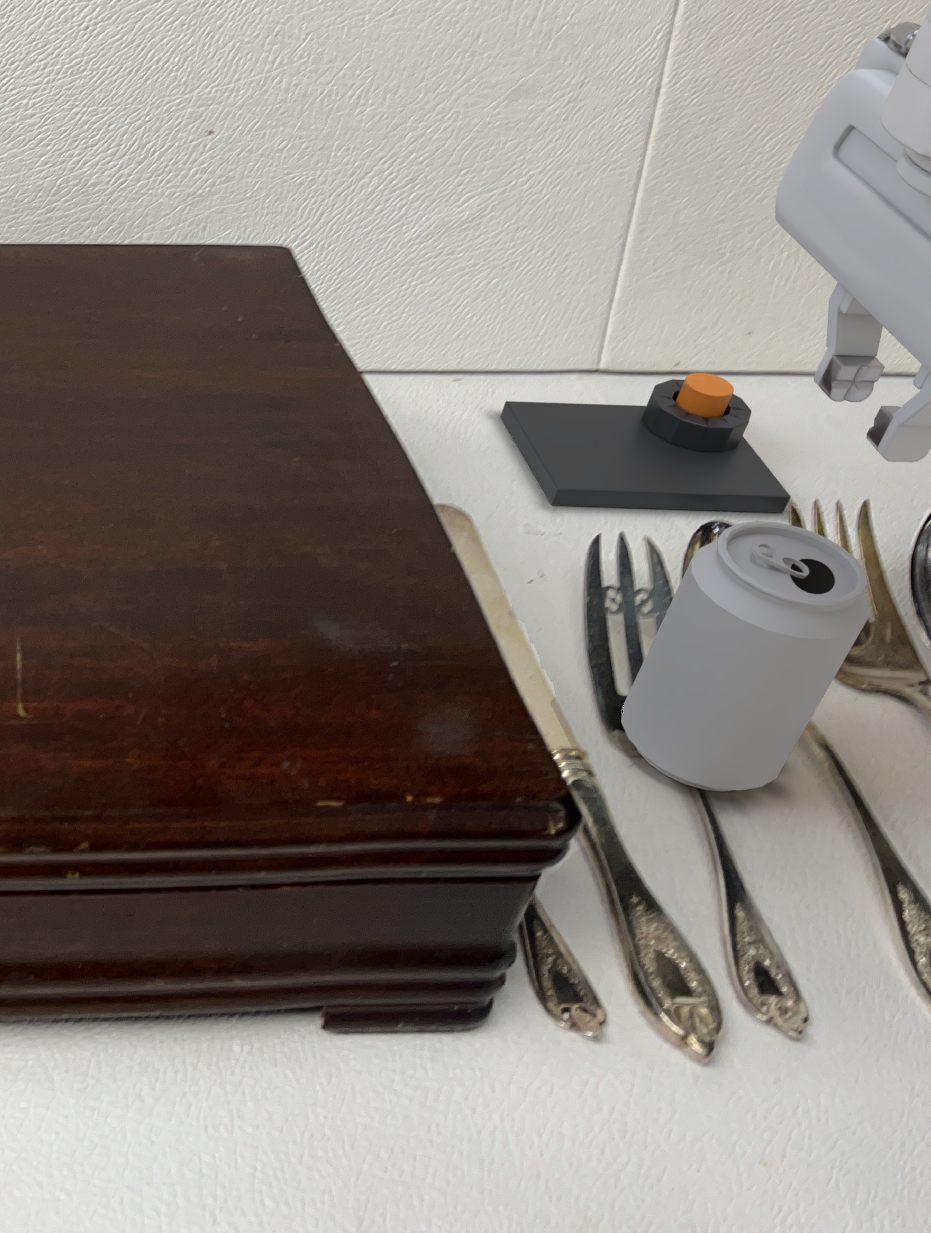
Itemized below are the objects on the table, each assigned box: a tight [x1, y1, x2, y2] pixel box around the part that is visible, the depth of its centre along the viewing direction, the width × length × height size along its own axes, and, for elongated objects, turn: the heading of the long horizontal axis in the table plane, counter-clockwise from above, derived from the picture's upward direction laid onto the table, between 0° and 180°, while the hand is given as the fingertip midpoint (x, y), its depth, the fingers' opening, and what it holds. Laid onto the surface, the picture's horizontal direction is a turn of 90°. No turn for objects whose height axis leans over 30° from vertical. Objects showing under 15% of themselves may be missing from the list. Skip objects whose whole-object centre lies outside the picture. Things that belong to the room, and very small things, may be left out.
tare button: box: [676, 372, 735, 418], centre depth 99 cm, size 3×3×2 cm
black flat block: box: [500, 379, 792, 513], centre depth 98 cm, size 14×10×3 cm
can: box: [620, 520, 870, 792], centre depth 75 cm, size 8×8×12 cm
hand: (864, 422), depth 67 cm, fingers open, 3 cm apart
